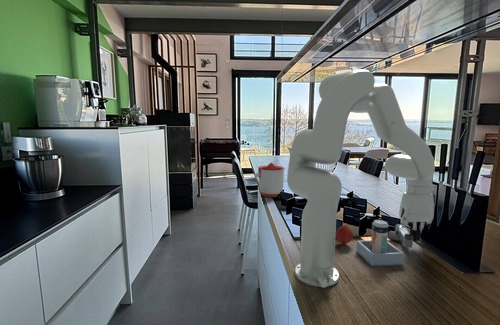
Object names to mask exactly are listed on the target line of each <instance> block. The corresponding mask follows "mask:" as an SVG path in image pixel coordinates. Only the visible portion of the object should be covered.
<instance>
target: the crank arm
mask: <svg viewBox="0 0 500 325" xmlns="http://www.w3.org/2000/svg"><path fill="white" fill-rule="evenodd" d="M394 230H395V233H396V234H398V236H399V238H400V240H401V242H402V246H403V247H404V248H413V241H414V240H413V235H411V234H409V233H410V232H409V230H408V229H407V225H403V224H402V223H400V224H395V229H394ZM401 242H400V243H401Z"/></svg>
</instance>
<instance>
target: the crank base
mask: <svg viewBox="0 0 500 325" xmlns="http://www.w3.org/2000/svg"><path fill="white" fill-rule="evenodd" d="M408 233H409V234H410V232H408ZM360 240H361V241H363V240H371V236H363V237H362V236H361V237H360ZM387 241H388V242H391V241H393V242H396V243H397V242H398V243H402V242H401V240H400V238H399V236H398V234H396V233H395V231H392V230H388V238H387Z"/></svg>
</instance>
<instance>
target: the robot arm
mask: <svg viewBox="0 0 500 325" xmlns="http://www.w3.org/2000/svg"><path fill="white" fill-rule="evenodd" d="M318 94H319V97H320V98H321V100H320V102H319V104H318V106H317V109H316V113H315V117H314V123H313V127H312V129H309V128H308V129H303V130H301V131H300V132H298V133H297V134H296V135H295V137H294V139H293V141H292V143H291V148H290V154H289V162H288V168H287V176H286V183H287V187H288V188H289V190H290V191H291V193H293V194H295V195H297V196H300V197H302V198H304V199H305V200H306V201H307V202H306V205H305V206H304V208H303V210H302V214H301V236H300V237H301V240H300V263H298V264H297V265H296V266H295V267H294V268H295V269H294V275H295V277H296V278H297V280H299V281H300V282H302V283H304V284H305V285H308V286H312V287H318V288H320V287H321V288H323V289H324V288H327V287H330V286H333V285H335V284H337V283H338V282H339V279H340V274H339V273H340V272H339V271H338V269H336V267H335V253H336V252H335V251H336V250H335V249H336V232H337V213H338V207H339V202H340V200H341V199H340V198H341V195H342V189H343V185H342V181H341V179H340V178H339V177H338V175H336V174H335V173H334V172H332V171H330V170H327V169H325V168H320V167H317V164H320V165H325V166H326V165H327V166H328V165H329V166H330V165H334V164H337V162H338V161H339V160H340V158H341V156H342V153H343V146H344V142H345V136H346V135H345V134H346V129H347V123H348V119H349V116H350V113H354V114H355V113H356V114H363V113H365V114H368V116H369V119H370V121H371V123H372V124H371V125H373V127H374V131H375V133H376V136H377V137H378V139H380V140H382V141H384V142H385V143H387V144H389V145H391V146H393V147H396V148H397V149H399V150H401V151H402V152H404V153H405V154H401V153H400V154H394V155H391V156H390V157H388V159H387V160H386V161H385V170H386V172H387V173H388V174H390V175H391V176H394V177H397V178H402V179H403V178H404V179H406V187H405V188H406V189H405V191H404V192H403V194H402V196H401V200H400V204H399V212H398V217H399V218H400V224H401V225H405V226H407V227H408V228H410V229H409V233H410V234H411V235H413V241H414V242H420V241H421V236H422V231H423V229H424V227H425V226H427V225H429V224H432V222H433V220H434V215H435V201H434V199H435V198H434V194H433V193H432V192H433V191H432V190H434V189H435V186H434V185H433V180H434V179H433V177H434V175H435V169H436V167H435V159H434V156H433V154H432V151H431V148H430V147H429V145H428V144H427V143H426V141H425V140H424V139H423V138H422V137H421V136H420V135H418V133H416V132H415V131H414V130H413V129H412V128H410V127H409V126H407V124H406V122H405V119H404V116H403V113H402V111H401V108H400V105H399V103H398V100H397V96H396V94H395V91H394V89H393V88H392V87H391V85H389V84H387V83H376V80H375V76H374V74H373V73H372V72H371V71H369V70H367V69H354V70H351V71H345V72H342V73H336V74H332V75H328V76H326V77H325V78H323V79H322V81H321V82H320V84H319V87H318Z"/></svg>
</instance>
